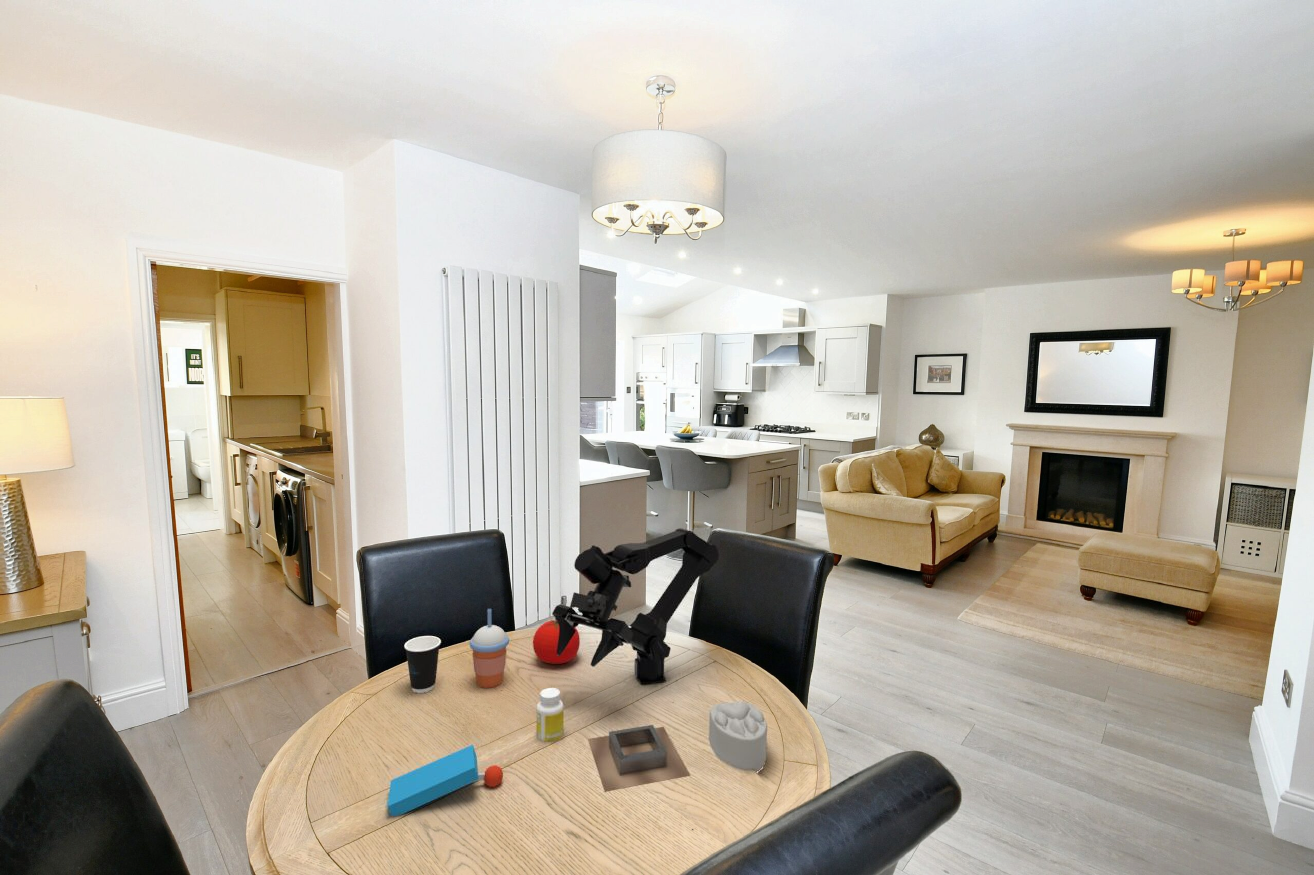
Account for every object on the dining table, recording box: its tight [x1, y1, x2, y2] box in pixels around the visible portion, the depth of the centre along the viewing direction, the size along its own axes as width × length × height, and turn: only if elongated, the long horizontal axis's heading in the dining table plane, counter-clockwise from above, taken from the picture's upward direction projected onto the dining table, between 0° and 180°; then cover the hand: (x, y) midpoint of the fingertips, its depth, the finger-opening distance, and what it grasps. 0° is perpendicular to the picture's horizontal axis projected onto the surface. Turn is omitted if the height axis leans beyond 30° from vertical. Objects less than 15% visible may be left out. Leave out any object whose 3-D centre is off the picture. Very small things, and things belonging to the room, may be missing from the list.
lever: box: [387, 744, 504, 817], centre depth 104 cm, size 7×7×18 cm
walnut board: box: [587, 726, 692, 793], centre depth 113 cm, size 16×16×1 cm
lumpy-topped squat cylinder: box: [708, 700, 768, 773], centre depth 116 cm, size 10×13×9 cm
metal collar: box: [608, 724, 667, 775], centre depth 113 cm, size 9×9×3 cm
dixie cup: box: [403, 635, 442, 694], centre depth 138 cm, size 8×8×11 cm
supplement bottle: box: [535, 687, 565, 742], centre depth 120 cm, size 5×5×10 cm
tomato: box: [532, 619, 581, 665], centre depth 154 cm, size 12×12×10 cm
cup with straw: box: [469, 608, 510, 689], centre depth 142 cm, size 9×9×18 cm
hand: (574, 660), depth 126 cm, fingers open, 9 cm apart
